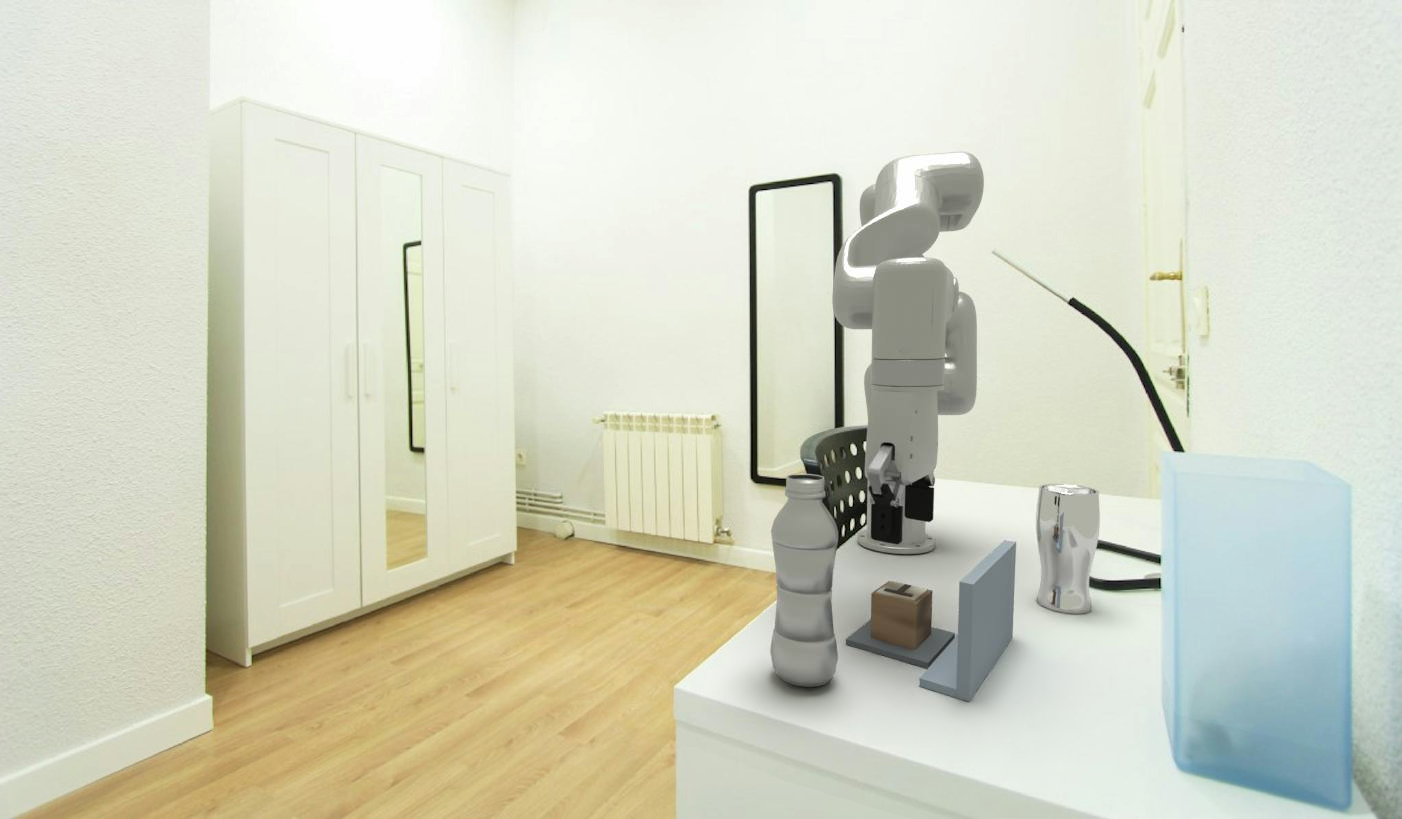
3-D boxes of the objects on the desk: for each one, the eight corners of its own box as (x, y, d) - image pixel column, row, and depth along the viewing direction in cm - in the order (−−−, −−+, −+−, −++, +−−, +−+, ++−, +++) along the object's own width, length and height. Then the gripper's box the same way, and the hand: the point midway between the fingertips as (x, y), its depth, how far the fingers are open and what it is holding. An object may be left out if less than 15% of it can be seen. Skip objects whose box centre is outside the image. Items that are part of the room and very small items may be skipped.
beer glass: (1105, 617, 77) (1111, 495, 76) (1042, 613, 78) (1047, 493, 77) (1083, 596, 84) (1087, 484, 83) (1025, 593, 85) (1030, 482, 84)
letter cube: (888, 622, 74) (889, 578, 74) (931, 633, 71) (932, 587, 71) (870, 637, 70) (871, 590, 70) (915, 649, 67) (916, 601, 67)
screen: (969, 627, 74) (972, 534, 73) (1012, 637, 71) (1016, 541, 71) (919, 685, 61) (922, 573, 60) (969, 701, 58) (973, 584, 57)
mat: (878, 618, 77) (878, 613, 77) (954, 637, 71) (955, 632, 71) (845, 644, 70) (845, 638, 70) (928, 668, 64) (928, 662, 64)
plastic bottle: (797, 702, 58) (799, 486, 56) (757, 670, 64) (758, 474, 62) (852, 686, 61) (855, 480, 59) (808, 656, 67) (811, 469, 65)
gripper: (902, 370, 78) (899, 507, 80) (839, 379, 64) (837, 544, 66) (966, 372, 73) (961, 517, 75) (913, 382, 60) (908, 558, 62)
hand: (903, 529), depth 71 cm, fingers open, 9 cm apart
